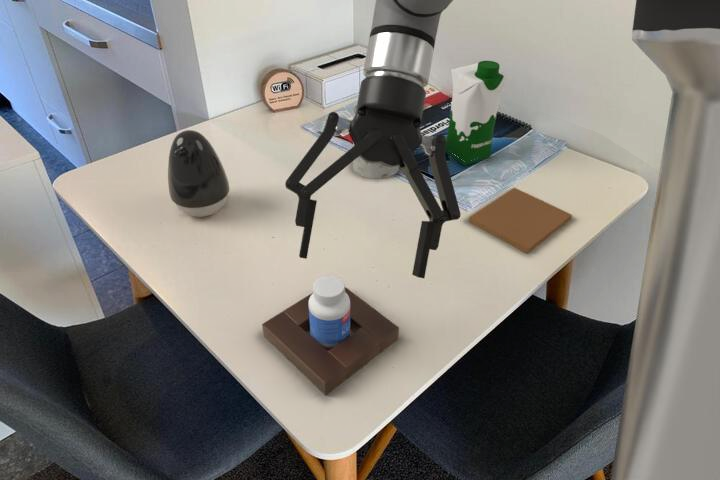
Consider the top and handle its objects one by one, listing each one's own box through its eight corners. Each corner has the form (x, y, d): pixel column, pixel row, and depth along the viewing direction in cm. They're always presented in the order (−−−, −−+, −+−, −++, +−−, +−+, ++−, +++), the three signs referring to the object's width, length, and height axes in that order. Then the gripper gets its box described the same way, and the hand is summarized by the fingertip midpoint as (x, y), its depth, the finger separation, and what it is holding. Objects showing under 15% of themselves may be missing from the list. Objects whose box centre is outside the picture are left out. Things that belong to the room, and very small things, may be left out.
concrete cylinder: (394, 181, 102) (398, 124, 95) (347, 175, 104) (347, 118, 96) (402, 157, 110) (406, 102, 102) (358, 152, 111) (359, 97, 104)
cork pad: (527, 253, 86) (528, 249, 85) (468, 221, 92) (469, 217, 92) (570, 219, 93) (572, 214, 92) (513, 191, 100) (514, 187, 99)
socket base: (325, 396, 64) (324, 383, 62) (263, 336, 71) (261, 323, 70) (398, 339, 71) (399, 327, 69) (335, 290, 78) (334, 278, 77)
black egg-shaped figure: (165, 223, 91) (143, 145, 82) (187, 190, 99) (169, 116, 90) (221, 227, 90) (206, 149, 81) (239, 194, 98) (227, 119, 89)
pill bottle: (349, 354, 69) (349, 302, 63) (309, 353, 69) (304, 301, 63) (351, 323, 73) (350, 271, 67) (312, 322, 73) (309, 271, 67)
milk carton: (464, 169, 106) (479, 73, 94) (437, 150, 112) (447, 57, 100) (496, 158, 110) (515, 64, 97) (468, 140, 116) (482, 49, 103)
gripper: (484, 112, 65) (453, 280, 65) (284, 68, 61) (253, 246, 62) (510, 99, 58) (475, 288, 58) (285, 48, 54) (250, 251, 54)
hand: (361, 267), depth 60 cm, fingers open, 13 cm apart
